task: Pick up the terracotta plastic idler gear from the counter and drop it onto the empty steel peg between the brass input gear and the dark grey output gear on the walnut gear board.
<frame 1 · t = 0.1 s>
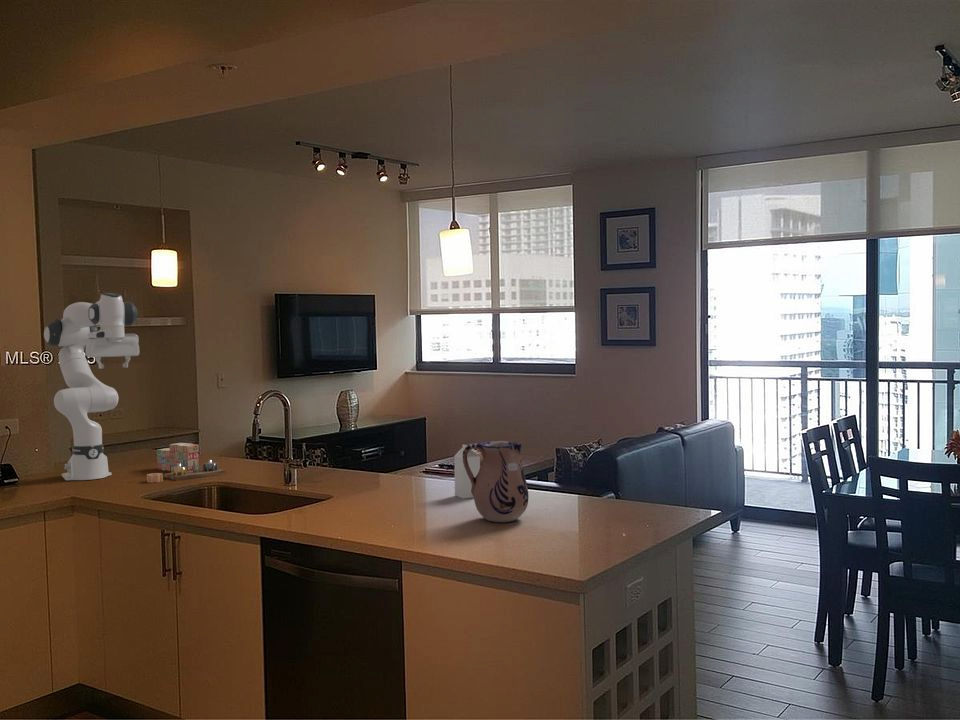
hand: (113, 368, 339), 48 cm above the counter, fingers open, 8 cm apart
stack of blocks: (178, 471, 380), on the counter
drive gears: (194, 467, 365), point 4 cm above the counter
gear board: (195, 475, 365), on the counter
milk carton: (467, 497, 313), on the counter
ceramic pitcher: (496, 520, 274), on the counter
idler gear: (154, 481, 352), on the counter
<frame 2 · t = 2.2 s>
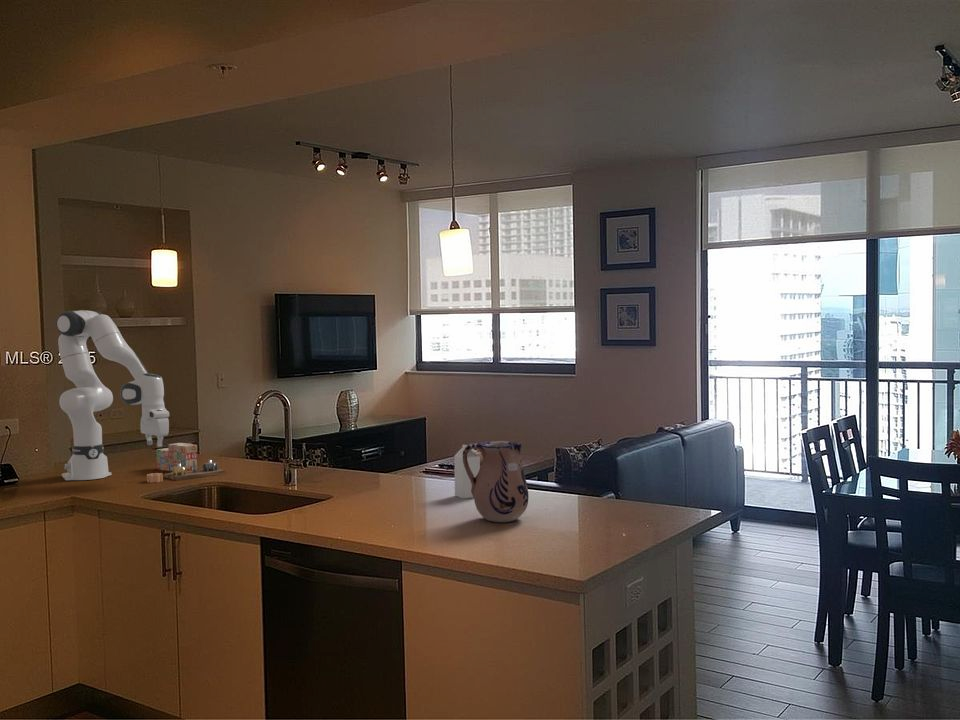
hand: (154, 445, 352), 15 cm above the counter, fingers open, 8 cm apart
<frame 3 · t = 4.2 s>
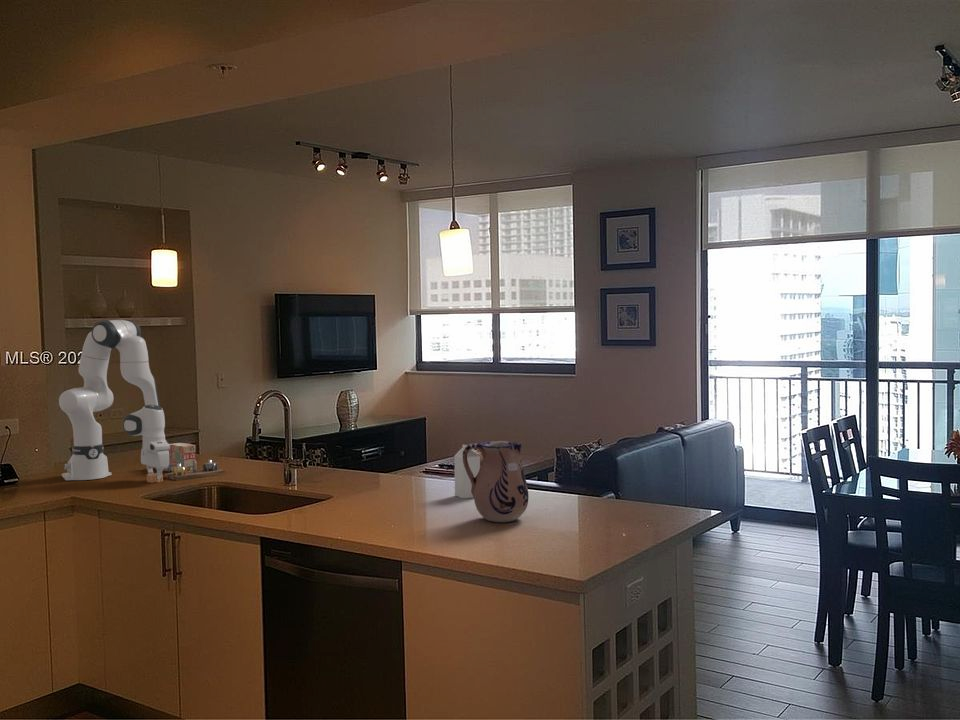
hand: (154, 477, 352), 2 cm above the counter, fingers closed on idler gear, 6 cm apart
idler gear: (154, 481, 352), on the counter, touching gripper
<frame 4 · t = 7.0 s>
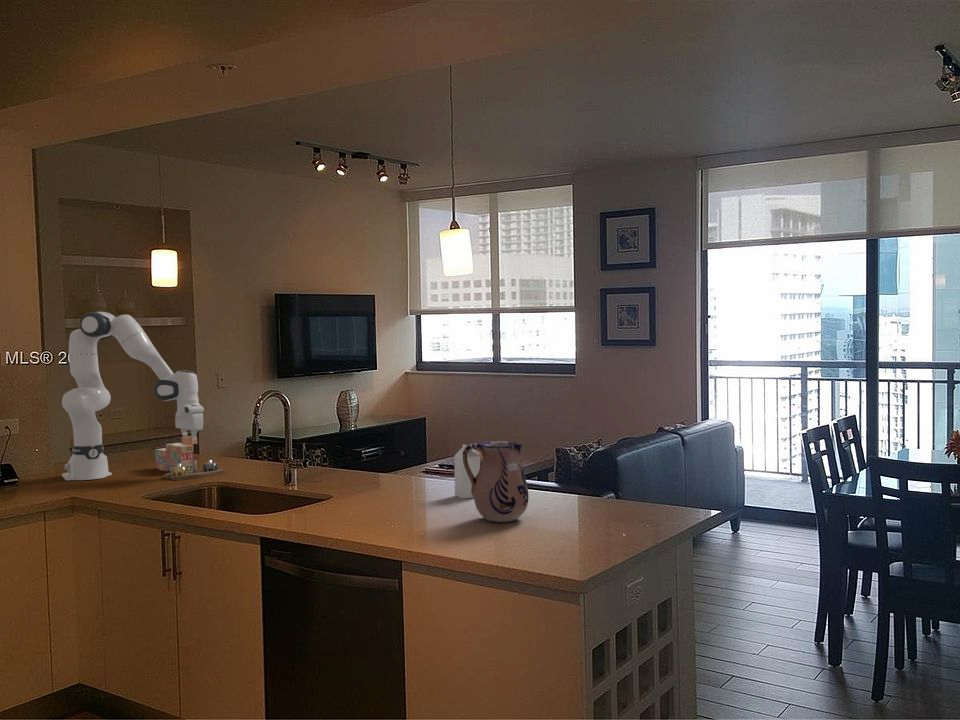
hand: (189, 439, 363), 16 cm above the counter, fingers closed on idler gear, 6 cm apart
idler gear: (189, 443, 363), point 14 cm above the counter, touching gripper
when the fingers open (4 cm above the counter, at t = 10.1 s): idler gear drops 1 cm, resting on gear board.
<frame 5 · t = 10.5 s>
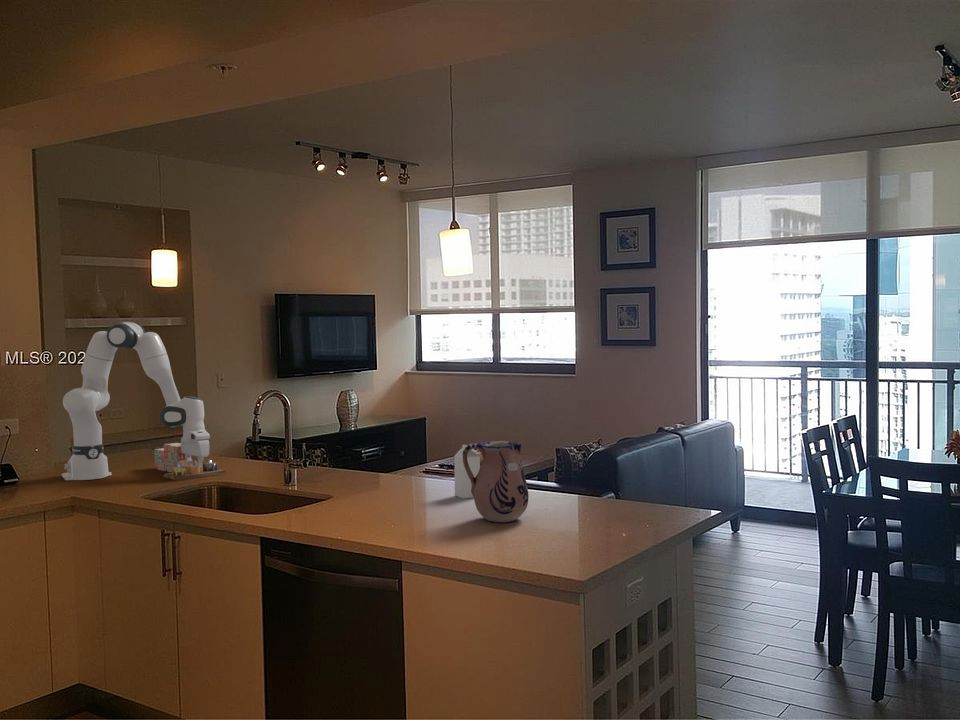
hand: (194, 465, 365), 4 cm above the counter, fingers open, 8 cm apart
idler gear: (194, 472, 365), point 1 cm above the counter, touching gear board
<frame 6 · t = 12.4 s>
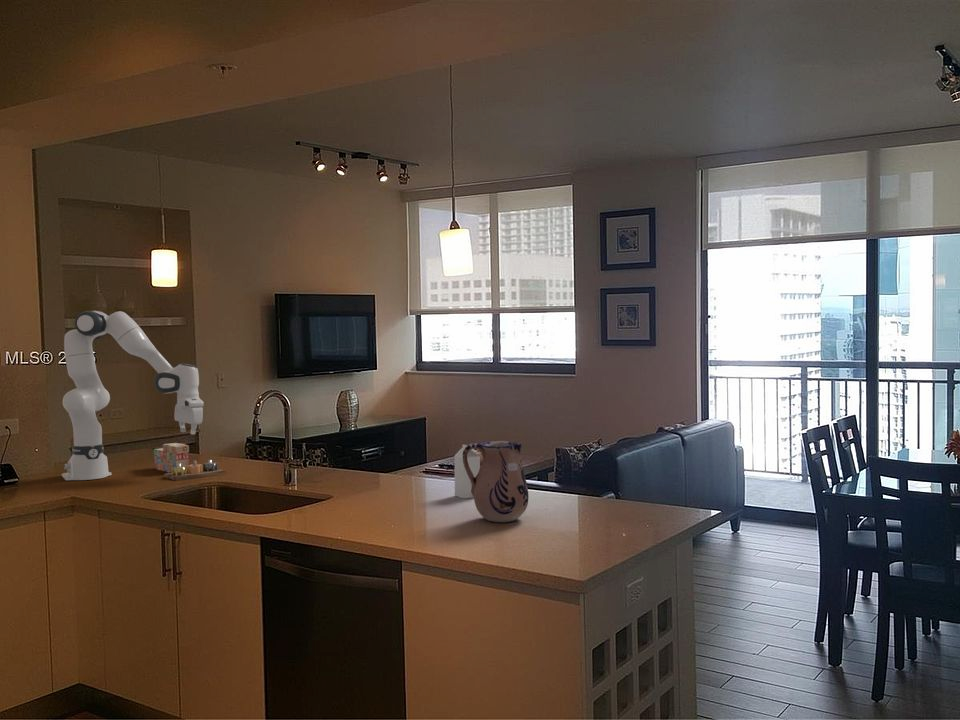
hand: (187, 433, 365), 18 cm above the counter, fingers open, 8 cm apart
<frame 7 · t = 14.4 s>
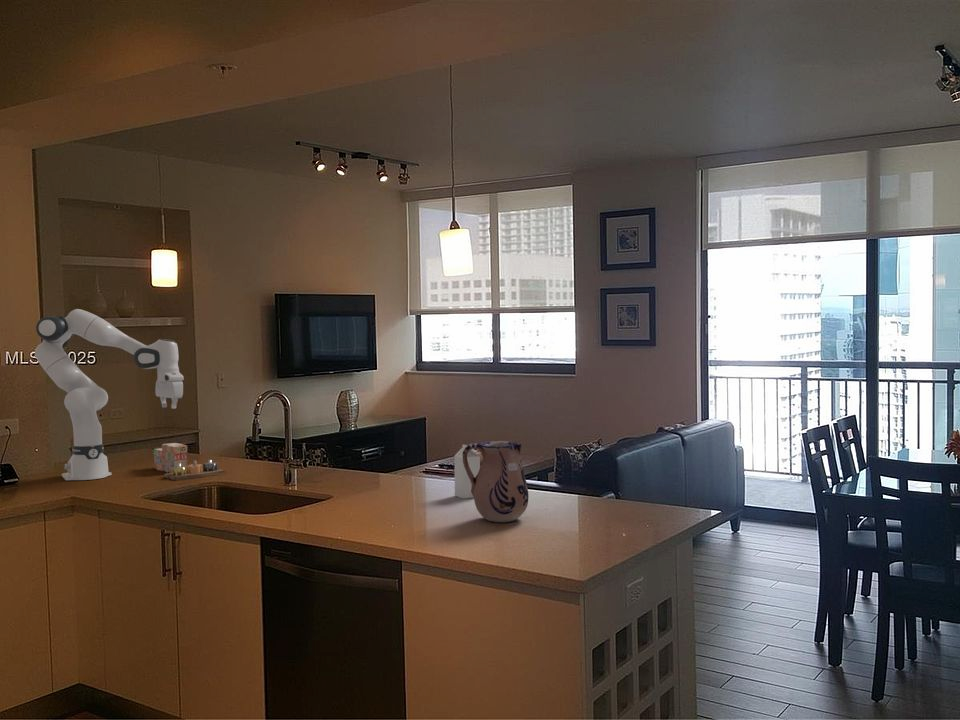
hand: (169, 407, 368), 29 cm above the counter, fingers open, 8 cm apart
at the end: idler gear 0.1 cm from the gear board (horizontally); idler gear point 1.5 cm above the counter; the gripper is holding nothing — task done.
